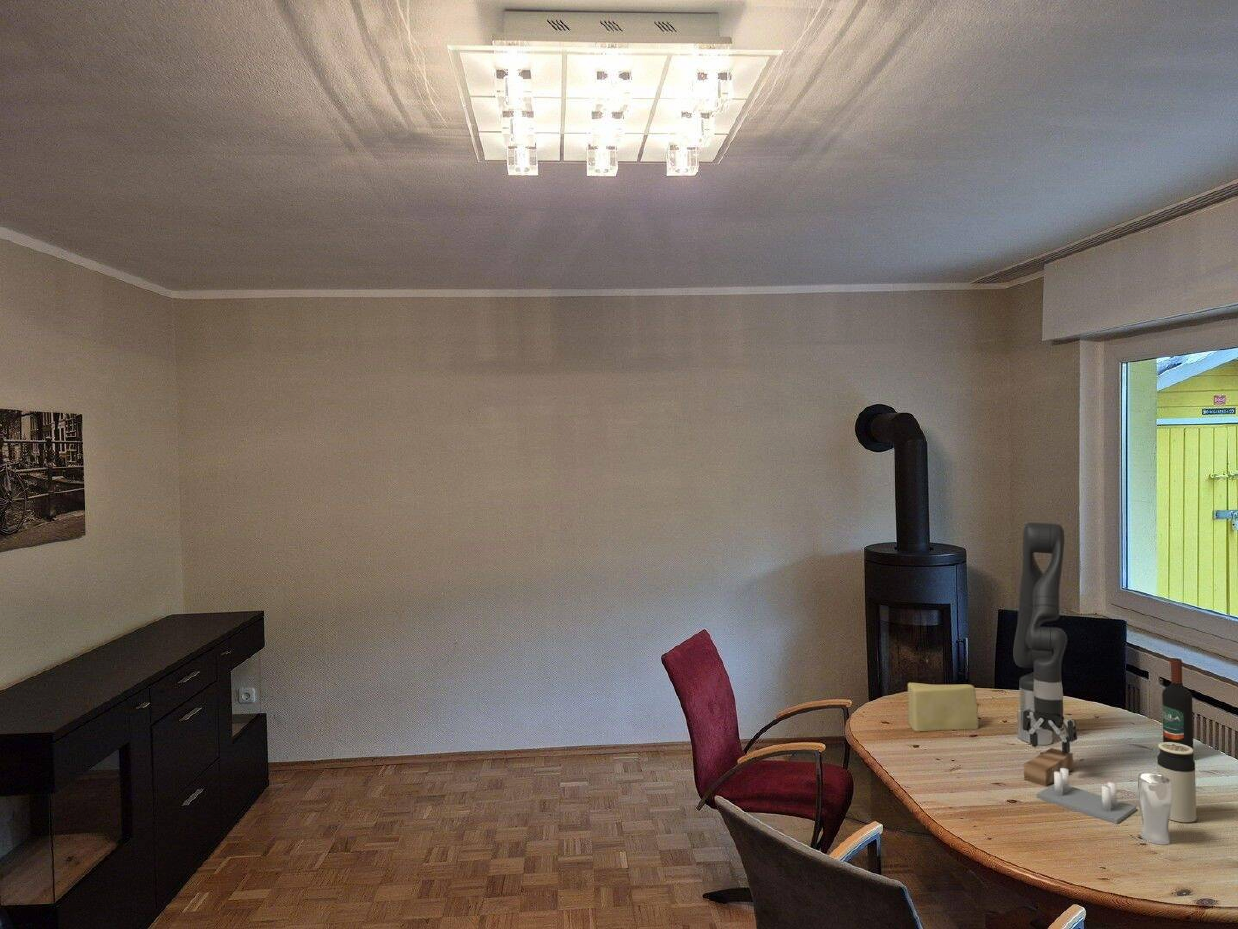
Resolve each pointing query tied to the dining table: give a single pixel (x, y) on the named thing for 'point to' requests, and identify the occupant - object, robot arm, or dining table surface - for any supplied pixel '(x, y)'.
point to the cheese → (942, 707)
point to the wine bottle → (1177, 709)
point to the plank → (1047, 766)
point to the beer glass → (1155, 807)
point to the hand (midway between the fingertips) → (1049, 750)
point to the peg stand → (1086, 799)
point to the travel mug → (1179, 779)
